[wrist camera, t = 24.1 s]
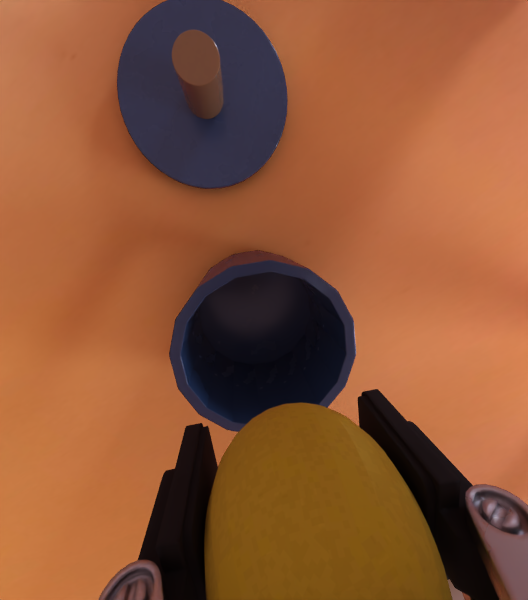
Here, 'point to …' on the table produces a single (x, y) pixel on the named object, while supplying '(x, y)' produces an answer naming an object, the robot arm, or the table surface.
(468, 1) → the table surface
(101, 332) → the table surface
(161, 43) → the lid
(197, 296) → the pail
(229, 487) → the lemon
